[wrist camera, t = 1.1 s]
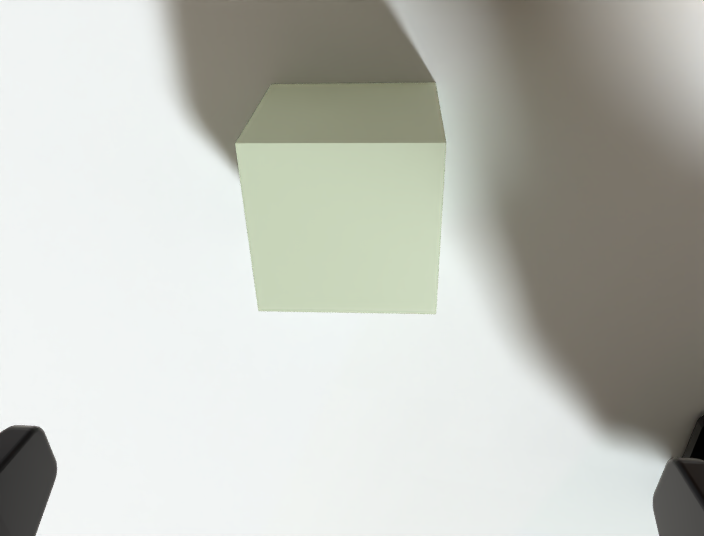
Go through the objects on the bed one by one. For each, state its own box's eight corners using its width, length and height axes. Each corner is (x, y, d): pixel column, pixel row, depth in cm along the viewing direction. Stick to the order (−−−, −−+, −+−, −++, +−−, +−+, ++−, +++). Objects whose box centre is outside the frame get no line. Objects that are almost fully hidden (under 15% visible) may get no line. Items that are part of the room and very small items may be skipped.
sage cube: (428, 226, 21) (436, 314, 17) (285, 225, 21) (258, 311, 17) (435, 81, 18) (446, 143, 14) (272, 83, 19) (235, 143, 14)
